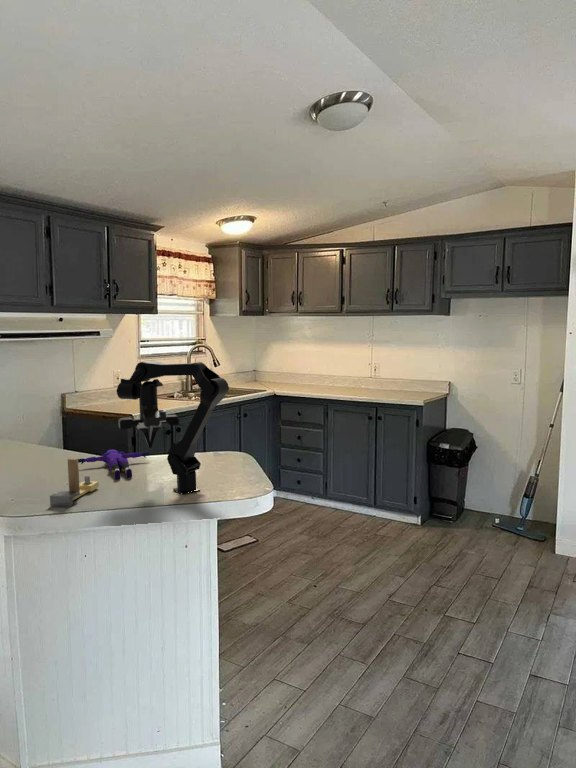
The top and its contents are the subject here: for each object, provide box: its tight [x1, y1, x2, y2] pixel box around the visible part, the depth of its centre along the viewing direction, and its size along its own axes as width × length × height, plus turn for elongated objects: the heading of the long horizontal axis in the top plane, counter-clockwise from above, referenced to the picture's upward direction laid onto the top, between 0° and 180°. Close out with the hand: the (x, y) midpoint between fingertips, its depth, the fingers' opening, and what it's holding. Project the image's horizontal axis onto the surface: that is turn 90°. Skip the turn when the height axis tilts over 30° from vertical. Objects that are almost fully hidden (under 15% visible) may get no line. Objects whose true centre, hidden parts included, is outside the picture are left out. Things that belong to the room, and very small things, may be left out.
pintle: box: [83, 475, 95, 493], centre depth 179 cm, size 4×4×5 cm
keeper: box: [49, 490, 80, 508], centre depth 166 cm, size 6×6×3 cm
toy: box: [78, 449, 151, 481], centre depth 206 cm, size 27×6×30 cm
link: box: [67, 457, 100, 501], centre depth 174 cm, size 16×5×12 cm, turn 172°
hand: (150, 447), depth 182 cm, fingers closed
